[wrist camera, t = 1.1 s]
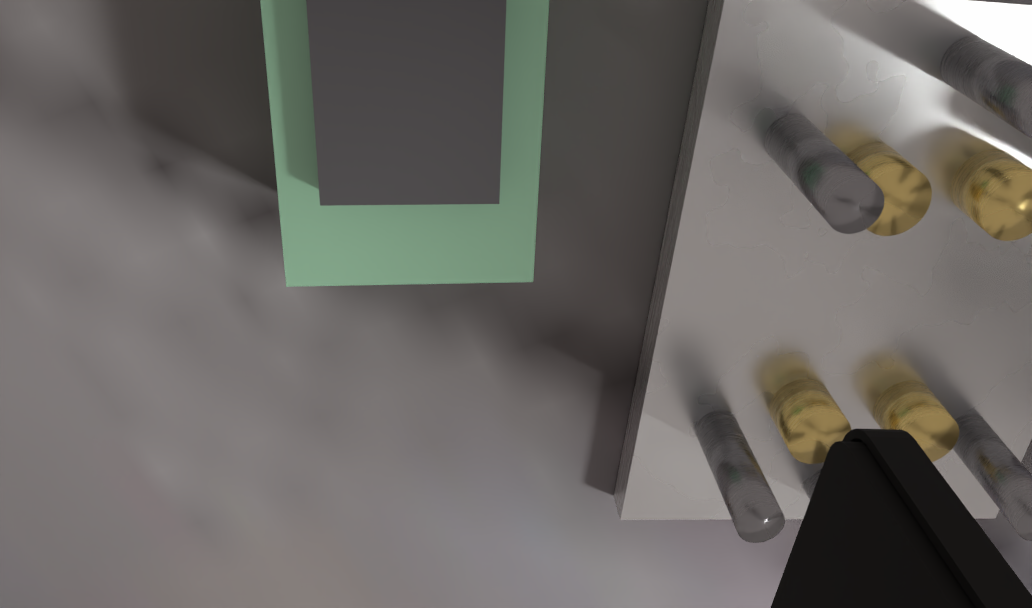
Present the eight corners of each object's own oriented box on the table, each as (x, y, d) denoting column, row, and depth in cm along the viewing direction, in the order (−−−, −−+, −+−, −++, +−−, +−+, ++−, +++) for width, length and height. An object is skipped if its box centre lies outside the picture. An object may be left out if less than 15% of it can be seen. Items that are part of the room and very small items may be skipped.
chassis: (714, -29, 25) (791, 29, 21) (1191, 9, 27) (1364, 70, 23) (613, 496, 34) (650, 623, 30) (978, 496, 36) (1068, 615, 32)
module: (264, -295, 22) (226, -300, 17) (531, -282, 22) (572, -283, 17) (302, 200, 28) (283, 303, 23) (511, 198, 28) (537, 298, 23)
